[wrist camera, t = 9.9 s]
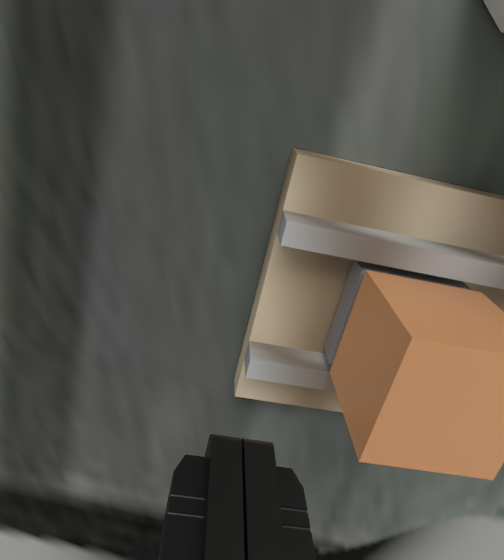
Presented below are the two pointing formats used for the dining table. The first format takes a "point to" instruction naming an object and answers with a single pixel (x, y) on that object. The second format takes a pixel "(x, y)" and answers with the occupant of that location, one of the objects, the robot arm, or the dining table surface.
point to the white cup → (496, 12)
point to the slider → (419, 371)
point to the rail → (339, 257)
